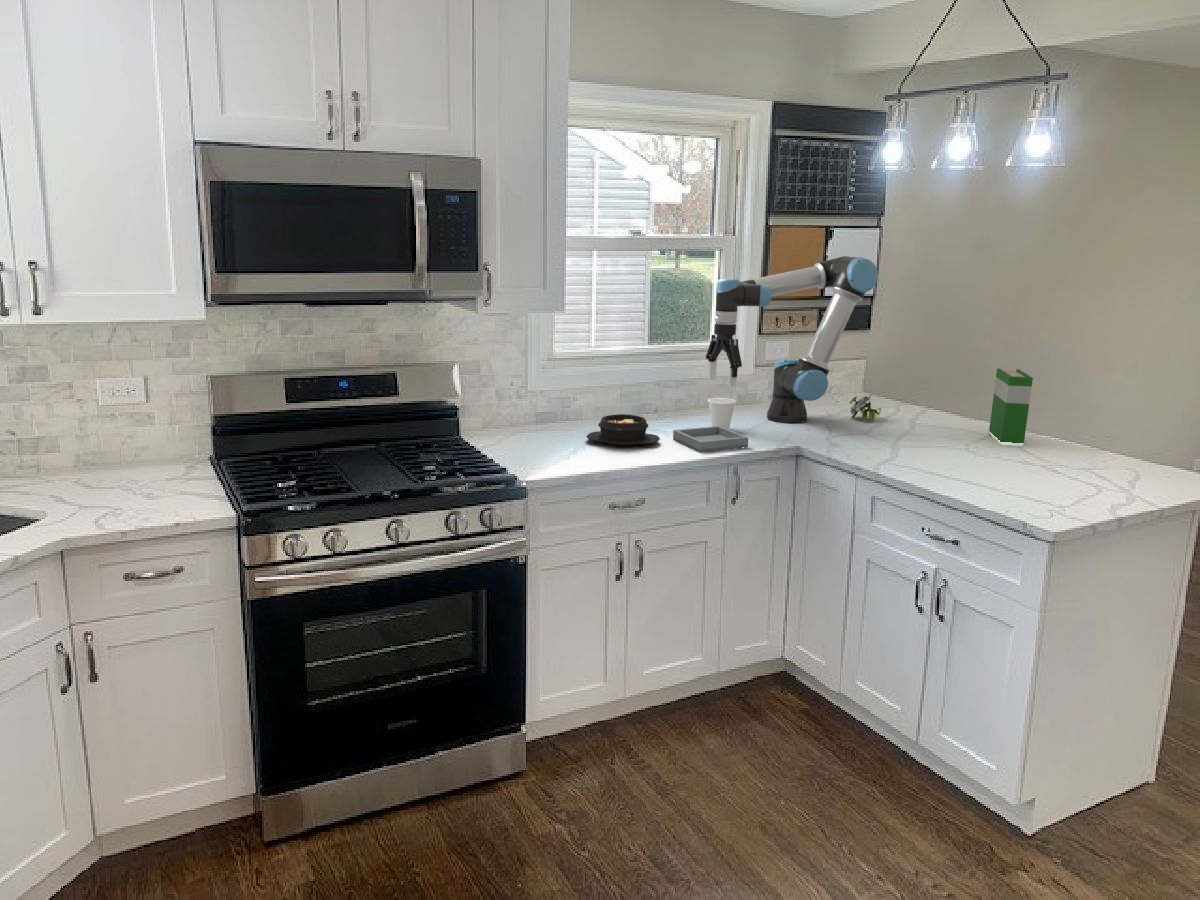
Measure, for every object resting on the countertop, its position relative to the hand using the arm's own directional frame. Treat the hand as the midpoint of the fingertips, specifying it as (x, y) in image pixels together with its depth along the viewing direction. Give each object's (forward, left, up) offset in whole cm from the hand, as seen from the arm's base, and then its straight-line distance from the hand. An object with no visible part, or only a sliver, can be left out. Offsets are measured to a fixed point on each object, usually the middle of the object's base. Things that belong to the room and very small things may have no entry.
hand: (721, 383), depth 320 cm
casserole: (+41, +4, -18) cm, 45 cm away
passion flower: (-62, +4, -18) cm, 65 cm away
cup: (0, 0, -18) cm, 18 cm away
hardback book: (-87, +49, -18) cm, 102 cm away
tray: (+14, +16, -17) cm, 27 cm away
